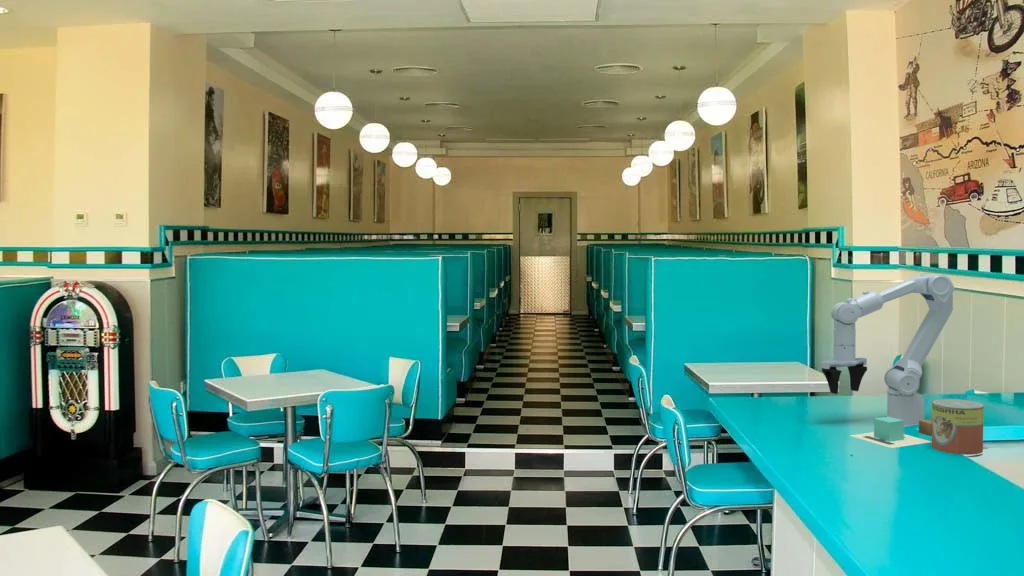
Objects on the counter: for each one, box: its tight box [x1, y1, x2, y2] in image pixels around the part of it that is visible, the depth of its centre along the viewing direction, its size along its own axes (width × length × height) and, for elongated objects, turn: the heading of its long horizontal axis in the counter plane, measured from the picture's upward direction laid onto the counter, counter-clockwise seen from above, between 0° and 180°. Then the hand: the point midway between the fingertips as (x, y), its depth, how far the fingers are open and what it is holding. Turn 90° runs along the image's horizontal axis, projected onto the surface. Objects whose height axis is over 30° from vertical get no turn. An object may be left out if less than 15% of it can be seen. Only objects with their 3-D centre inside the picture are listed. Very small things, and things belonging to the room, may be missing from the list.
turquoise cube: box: [873, 416, 905, 442], centre depth 205 cm, size 5×5×5 cm
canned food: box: [931, 398, 985, 458], centre depth 194 cm, size 11×11×12 cm
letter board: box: [848, 431, 932, 449], centre depth 205 cm, size 14×14×1 cm
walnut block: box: [918, 418, 932, 437], centre depth 209 cm, size 4×4×4 cm
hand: (844, 391), depth 223 cm, fingers open, 7 cm apart
